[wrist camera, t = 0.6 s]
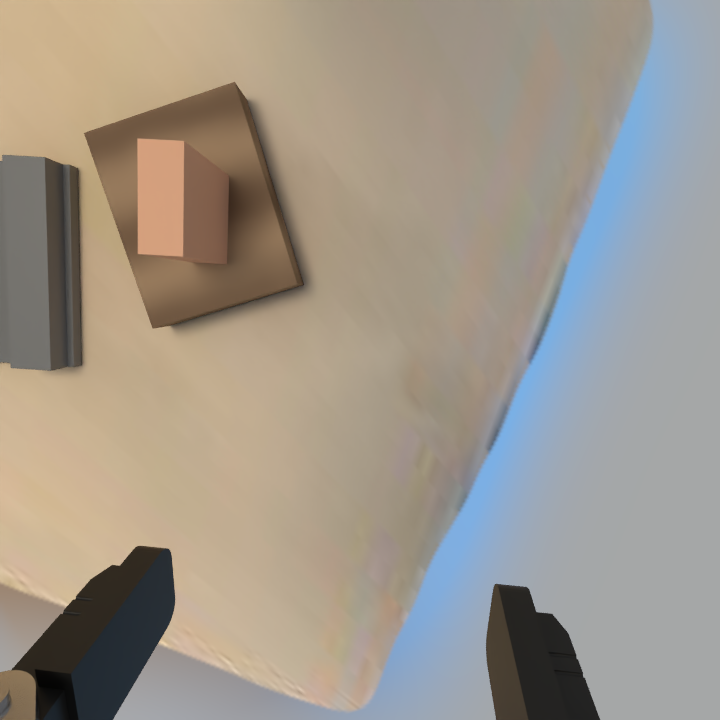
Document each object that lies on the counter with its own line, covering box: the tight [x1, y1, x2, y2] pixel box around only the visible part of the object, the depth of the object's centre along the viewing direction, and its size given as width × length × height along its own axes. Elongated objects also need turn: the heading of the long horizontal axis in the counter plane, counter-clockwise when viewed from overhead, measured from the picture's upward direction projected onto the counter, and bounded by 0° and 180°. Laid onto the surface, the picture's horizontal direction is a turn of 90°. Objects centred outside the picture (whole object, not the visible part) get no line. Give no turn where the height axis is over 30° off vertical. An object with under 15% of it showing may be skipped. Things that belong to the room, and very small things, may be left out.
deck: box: [84, 82, 304, 328], centre depth 36 cm, size 14×11×3 cm
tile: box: [137, 138, 229, 264], centre depth 31 cm, size 6×2×8 cm, turn 177°
